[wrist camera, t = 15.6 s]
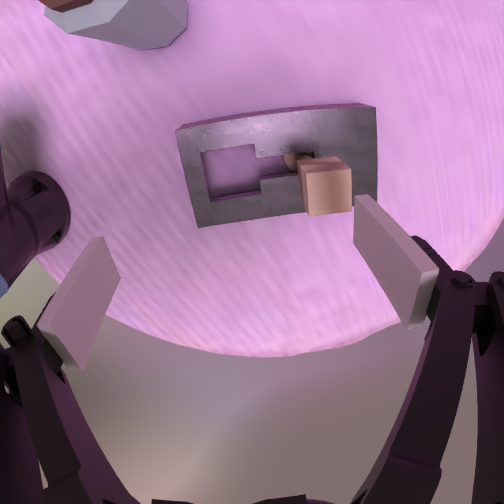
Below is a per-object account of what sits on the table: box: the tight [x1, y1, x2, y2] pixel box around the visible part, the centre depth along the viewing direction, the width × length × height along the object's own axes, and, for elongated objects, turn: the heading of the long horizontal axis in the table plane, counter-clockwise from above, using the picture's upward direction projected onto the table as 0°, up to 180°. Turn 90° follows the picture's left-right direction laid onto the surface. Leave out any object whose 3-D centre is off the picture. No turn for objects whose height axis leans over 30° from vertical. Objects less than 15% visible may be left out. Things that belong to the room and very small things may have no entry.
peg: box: [283, 152, 352, 217], centre depth 36 cm, size 5×5×17 cm
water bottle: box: [39, 0, 188, 50], centre depth 20 cm, size 10×10×25 cm
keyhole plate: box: [175, 103, 377, 228], centre depth 40 cm, size 26×14×6 cm, turn 98°
